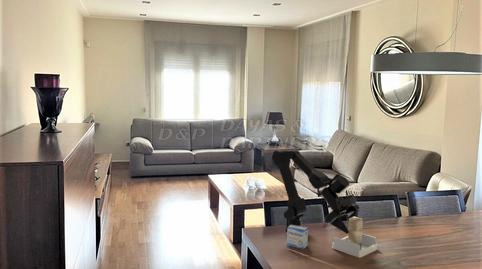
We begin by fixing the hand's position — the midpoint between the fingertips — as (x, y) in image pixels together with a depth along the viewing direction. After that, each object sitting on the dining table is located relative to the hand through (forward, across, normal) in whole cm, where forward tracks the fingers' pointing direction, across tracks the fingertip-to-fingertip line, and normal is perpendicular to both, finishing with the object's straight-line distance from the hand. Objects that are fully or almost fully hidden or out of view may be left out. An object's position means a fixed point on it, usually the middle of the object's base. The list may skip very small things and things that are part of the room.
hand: (354, 230), depth 172 cm
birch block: (+6, 0, +5) cm, 8 cm away
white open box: (+6, 0, +6) cm, 8 cm away
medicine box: (-7, -15, +19) cm, 25 cm away
